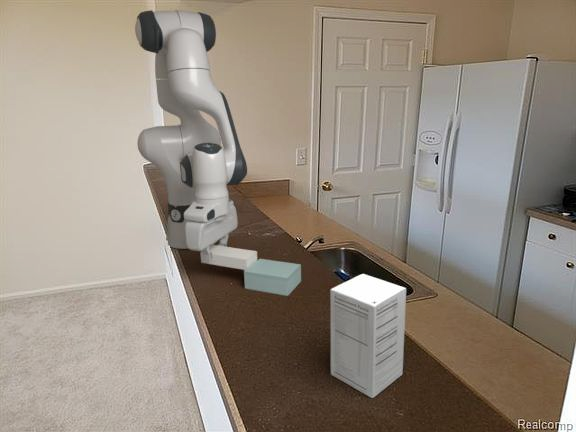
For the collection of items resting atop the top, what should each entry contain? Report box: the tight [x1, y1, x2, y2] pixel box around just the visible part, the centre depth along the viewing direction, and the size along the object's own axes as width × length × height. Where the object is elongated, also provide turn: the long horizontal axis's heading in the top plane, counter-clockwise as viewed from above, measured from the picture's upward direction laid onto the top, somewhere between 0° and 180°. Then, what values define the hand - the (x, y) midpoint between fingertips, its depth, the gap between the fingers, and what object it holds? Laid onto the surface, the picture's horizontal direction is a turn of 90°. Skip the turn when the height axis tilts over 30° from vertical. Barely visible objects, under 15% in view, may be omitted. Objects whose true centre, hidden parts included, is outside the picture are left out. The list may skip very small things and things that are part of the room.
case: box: [243, 258, 302, 297], centre depth 112 cm, size 9×12×5 cm
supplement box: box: [329, 273, 407, 399], centre depth 74 cm, size 10×9×17 cm
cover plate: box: [199, 244, 258, 271], centre depth 116 cm, size 6×14×3 cm, turn 67°
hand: (215, 254), depth 118 cm, fingers closed on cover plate, 6 cm apart
